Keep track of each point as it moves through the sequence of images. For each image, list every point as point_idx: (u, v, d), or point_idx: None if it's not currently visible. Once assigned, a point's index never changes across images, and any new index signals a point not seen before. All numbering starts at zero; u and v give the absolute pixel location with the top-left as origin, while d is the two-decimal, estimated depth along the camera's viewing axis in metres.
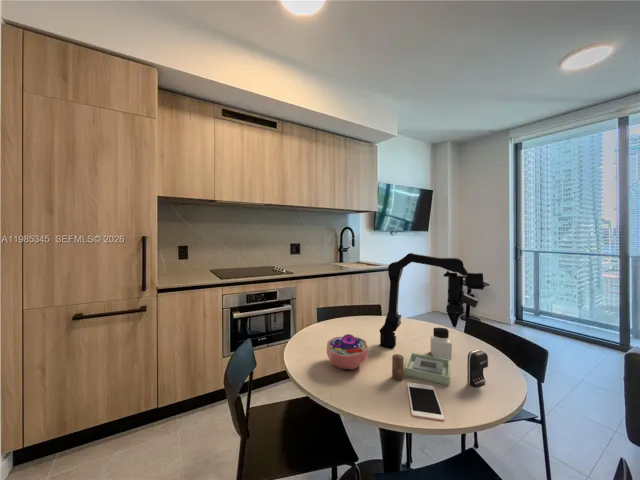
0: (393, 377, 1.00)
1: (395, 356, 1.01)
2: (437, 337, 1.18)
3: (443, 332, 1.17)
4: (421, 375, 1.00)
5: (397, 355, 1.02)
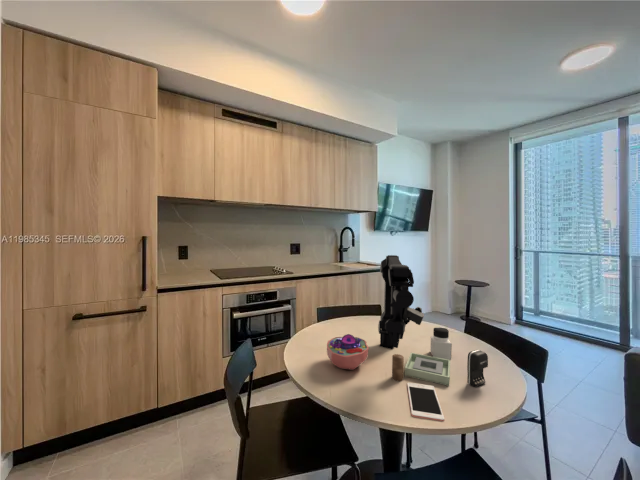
0: (393, 377, 1.00)
1: (395, 356, 1.01)
2: (437, 337, 1.18)
3: (443, 332, 1.17)
4: (421, 375, 1.00)
5: (397, 355, 1.02)
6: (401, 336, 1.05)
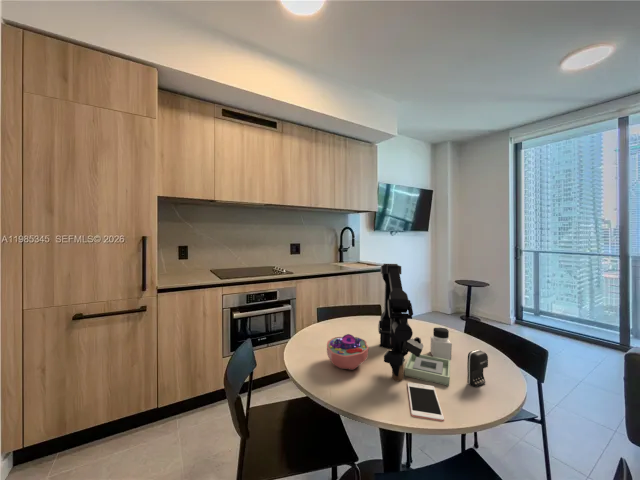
0: (393, 377, 1.00)
1: None
2: (437, 337, 1.18)
3: (443, 332, 1.17)
4: (421, 375, 1.00)
5: None
6: None
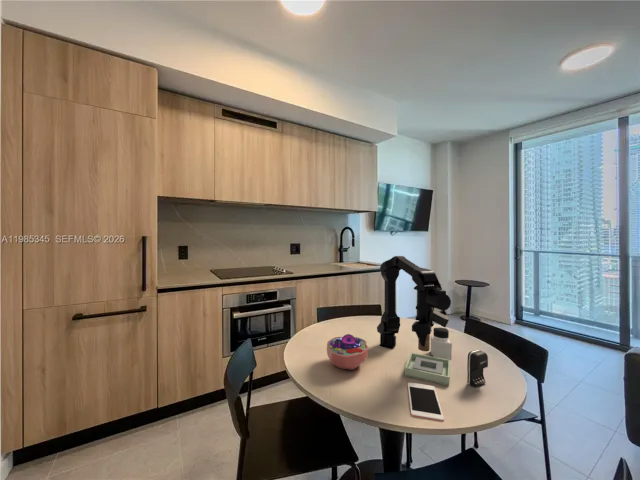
0: (419, 348, 1.04)
1: None
2: (437, 337, 1.18)
3: (443, 332, 1.17)
4: (421, 375, 1.00)
5: None
6: None
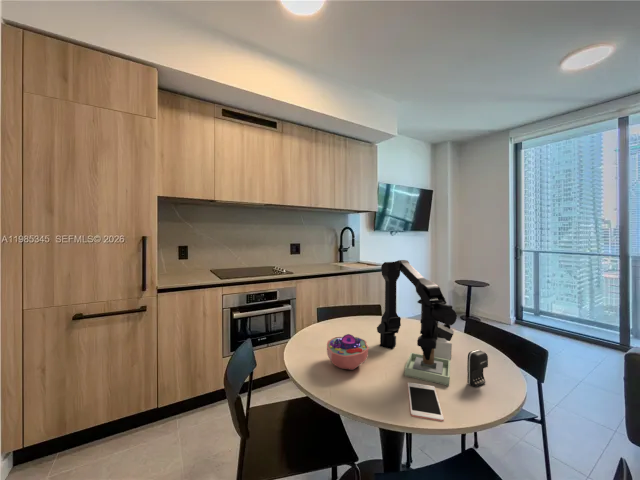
0: (424, 361, 1.05)
1: None
2: None
3: None
4: (421, 375, 1.00)
5: None
6: None
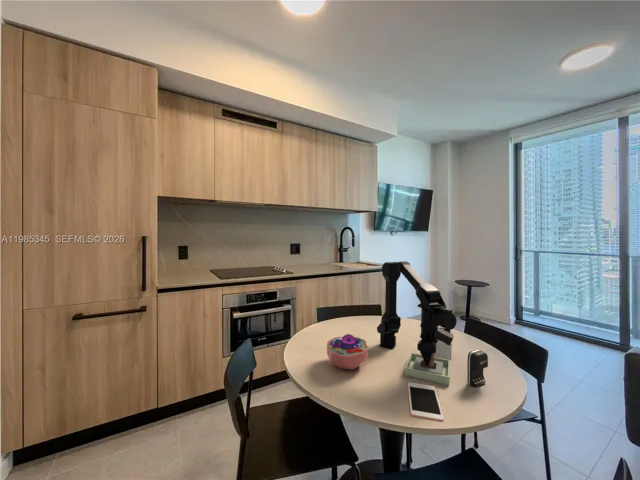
0: None
1: None
2: None
3: None
4: (421, 375, 1.00)
5: None
6: None
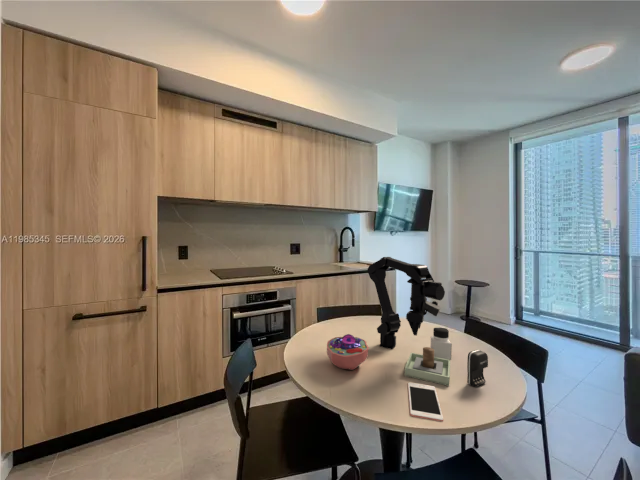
0: None
1: (426, 348, 1.06)
2: (437, 337, 1.18)
3: (443, 332, 1.17)
4: (421, 375, 1.00)
5: (427, 348, 1.07)
6: (419, 326, 1.20)
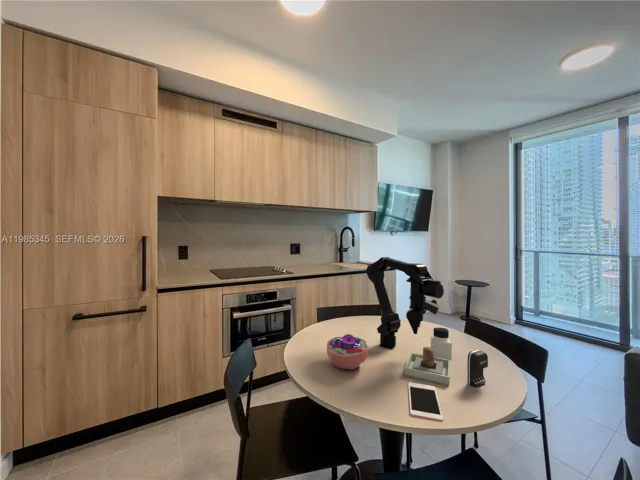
0: None
1: (426, 348, 1.06)
2: (437, 337, 1.18)
3: (443, 332, 1.17)
4: (421, 375, 1.00)
5: (427, 348, 1.07)
6: (418, 325, 1.21)
